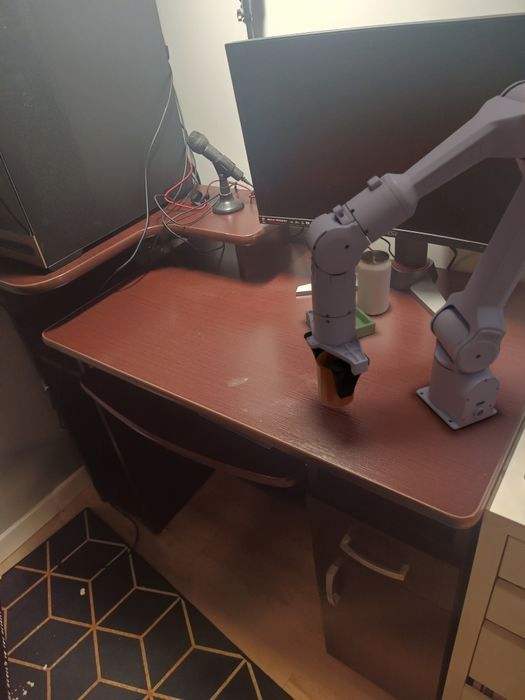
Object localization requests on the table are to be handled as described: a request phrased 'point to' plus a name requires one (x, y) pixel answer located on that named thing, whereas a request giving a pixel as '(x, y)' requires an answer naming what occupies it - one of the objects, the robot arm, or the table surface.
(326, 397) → the cup
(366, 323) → the tray
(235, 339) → the table surface
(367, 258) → the can
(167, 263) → the table surface
